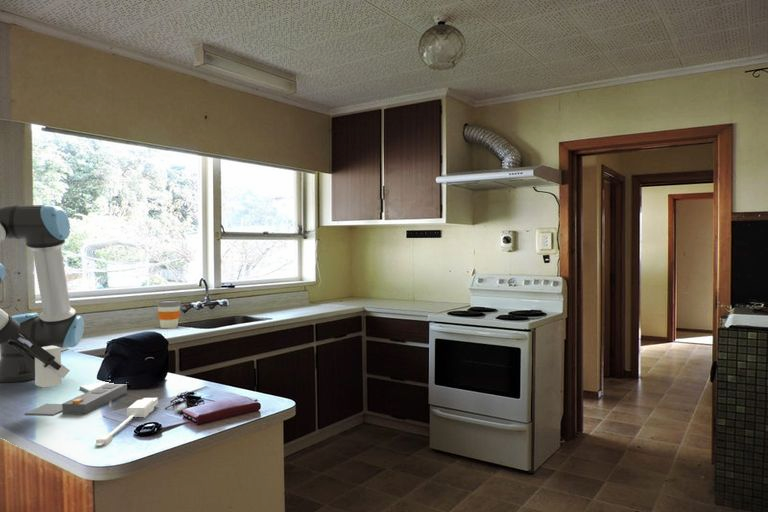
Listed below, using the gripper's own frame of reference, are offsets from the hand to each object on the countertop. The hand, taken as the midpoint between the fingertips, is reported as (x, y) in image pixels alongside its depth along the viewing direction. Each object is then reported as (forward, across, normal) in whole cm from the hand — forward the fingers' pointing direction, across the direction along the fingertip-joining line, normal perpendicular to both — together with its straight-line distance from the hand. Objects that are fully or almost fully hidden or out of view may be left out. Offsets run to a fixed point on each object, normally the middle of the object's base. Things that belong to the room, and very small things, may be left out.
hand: (61, 372), depth 164 cm
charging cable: (+11, +30, -5) cm, 32 cm away
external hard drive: (+21, -11, +5) cm, 25 cm away
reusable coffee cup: (+81, -102, +67) cm, 147 cm away
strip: (+16, +2, +1) cm, 16 cm away
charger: (-1, 0, -5) cm, 5 cm away
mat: (+5, -1, -10) cm, 11 cm away
